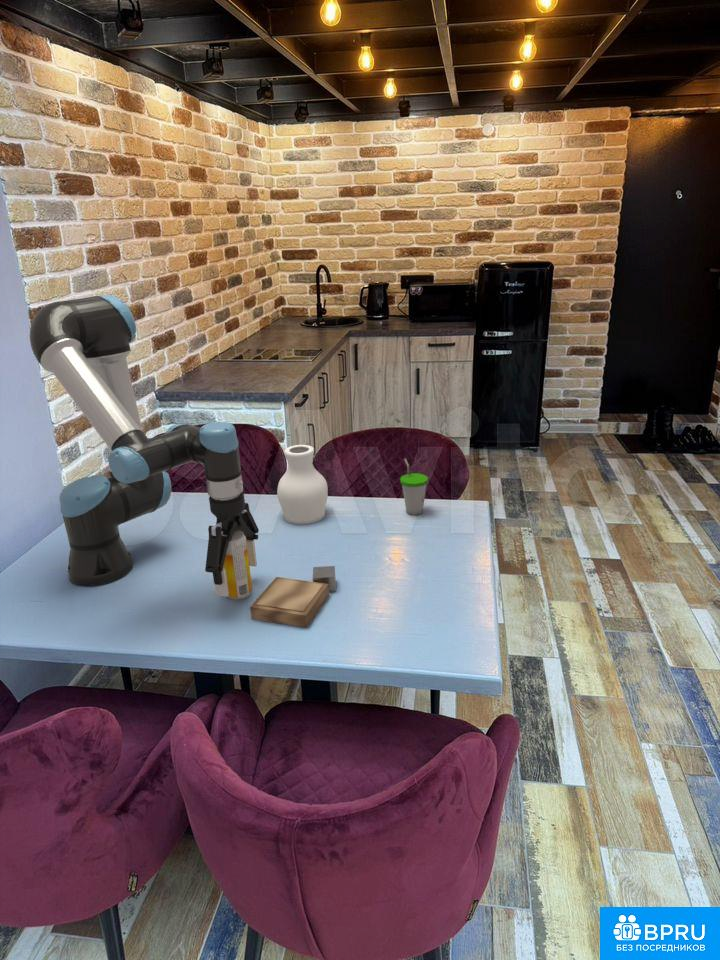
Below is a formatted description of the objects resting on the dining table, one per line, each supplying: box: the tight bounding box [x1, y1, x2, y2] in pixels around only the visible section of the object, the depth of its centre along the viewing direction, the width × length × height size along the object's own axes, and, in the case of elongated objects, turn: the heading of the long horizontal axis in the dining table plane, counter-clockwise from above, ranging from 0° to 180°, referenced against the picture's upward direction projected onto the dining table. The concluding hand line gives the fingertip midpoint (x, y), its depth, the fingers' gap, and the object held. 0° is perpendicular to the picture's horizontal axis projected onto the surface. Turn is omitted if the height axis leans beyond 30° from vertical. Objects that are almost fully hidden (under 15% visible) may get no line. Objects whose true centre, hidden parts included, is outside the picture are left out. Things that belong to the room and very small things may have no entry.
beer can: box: [222, 530, 253, 600], centre depth 154 cm, size 6×6×15 cm
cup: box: [399, 458, 429, 517], centre depth 191 cm, size 8×8×15 cm
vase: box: [276, 444, 329, 525], centre depth 191 cm, size 14×14×20 cm
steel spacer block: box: [312, 565, 337, 593], centre depth 158 cm, size 5×5×4 cm
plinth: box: [249, 576, 330, 629], centre depth 150 cm, size 13×13×3 cm
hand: (237, 579), depth 156 cm, fingers open, 13 cm apart
